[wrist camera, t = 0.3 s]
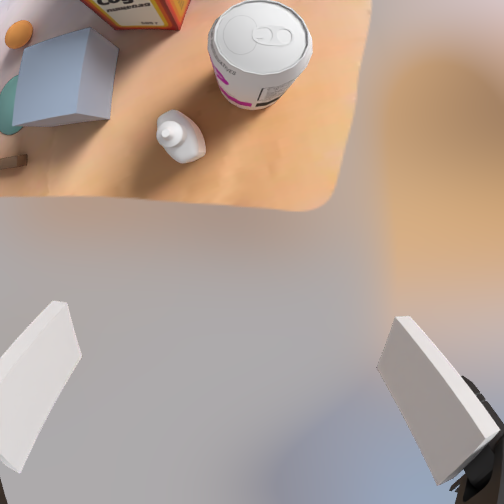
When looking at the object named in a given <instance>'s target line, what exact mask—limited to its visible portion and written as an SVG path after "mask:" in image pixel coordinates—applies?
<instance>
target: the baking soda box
mask: <svg viewBox="0 0 504 504" xmlns="http://www.w3.org/2000/svg"><path fill="white" fill-rule="evenodd" d="M80 1H82V2H83V3H84V4H85V5H87V6H88V7H89V8H90V9H91V10H93V11H94V12H95V13H96V14H97V15H98V16H100V17H101V18H102V19H103V20H104V21H105V22H107V23H108V24H109V25H110V26H111V27H112V28H113V29H114V30H129V29H162V30H180V28H181V25H182V23H183V20H184V17H185V14H186V11H187V9H188V6H189V3H190V1H191V0H80Z"/></svg>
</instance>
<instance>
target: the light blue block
mask: <svg viewBox="0 0 504 504" xmlns="http://www.w3.org/2000/svg"><path fill="white" fill-rule="evenodd" d="M118 52H119V48H117V47H116V46H115V45H114V44H112V43H111V42H110V41H108V40H107V39H106V38H104V37H103V36H102V35H100V34H99V33H98V32H96V31H95V30H94V29H92V28H91V27H90V28H86V29H82V30H78V31H74V32H71V33H67V34H64V35H61V36H58V37H55V38H52V39H49V40H46V41H43V42H40V43H38V44H35V45H32V46H30V47H27V48H25V49H24V52H23V56H22V61H21V66H20V71H19V76H18V82H17V88H16V95H15V102H14V111H13V122H12V126H36V127H53V126H59V125H66V124H72V123H80V122H88V121H97V120H106V119H110V112H111V101H112V92H113V84H114V77H115V70H116V64H117V58H118Z"/></svg>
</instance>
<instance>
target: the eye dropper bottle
mask: <svg viewBox="0 0 504 504" xmlns="http://www.w3.org/2000/svg"><path fill="white" fill-rule="evenodd" d="M156 135H157V137H156V138H157V140H158V142H159V144H160V145H162V146H163V147H164V149H165V150H166V152H167V153H168V154H169V155H170V156H171V157H172V158H173V159H174V160H176V161H177V162H179V163H187V162H192V161H195V160H197V159H199V158H201V157H203V156H204V155H205V153H206V145H205V140H204V137H203V135H202V132H201V131H200V129H199V127H198V126H197V125H196V124H195V123H194V122H193V121H192V120H191V119H190V118H189V117H187V116H186V115H184V114H183V113H181V112H179V111H178V110H174V109H173V110H170V111H168V112H166V113H164V114H162V115H161V116H160V117H159V118H158V120H157V133H156Z"/></svg>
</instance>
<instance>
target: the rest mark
mask: <svg viewBox="0 0 504 504" xmlns="http://www.w3.org/2000/svg"><path fill="white" fill-rule="evenodd" d="M18 76H19V75H17V76H15V77H13V78H12V79H11V80H10V81H9V82H8V83H7V84H6V85H5V87H4V88H3V90H2V92H1V94H0V131H1V132H2V133H3V134H6V135H11V134H14V133H16V132H18V131H19V130H20V129H21V128H22V127H23V126H12V122H13V111H14V102H15V95H16V88H17V82H18Z"/></svg>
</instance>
